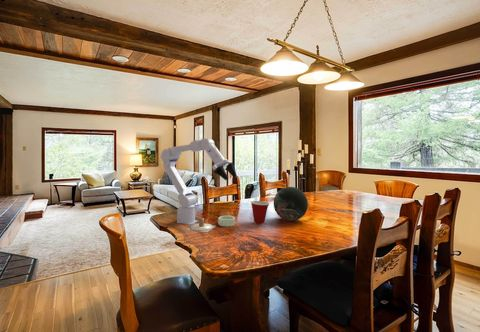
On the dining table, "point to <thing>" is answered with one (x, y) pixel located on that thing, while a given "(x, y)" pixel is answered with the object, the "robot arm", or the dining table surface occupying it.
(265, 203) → the plastic cup
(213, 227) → the mat
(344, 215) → the dining table surface
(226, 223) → the bowl
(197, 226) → the lid
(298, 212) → the decorative sphere
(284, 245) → the dining table surface
